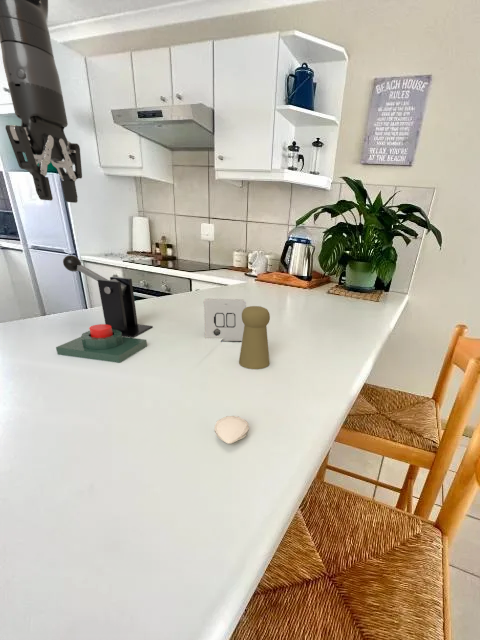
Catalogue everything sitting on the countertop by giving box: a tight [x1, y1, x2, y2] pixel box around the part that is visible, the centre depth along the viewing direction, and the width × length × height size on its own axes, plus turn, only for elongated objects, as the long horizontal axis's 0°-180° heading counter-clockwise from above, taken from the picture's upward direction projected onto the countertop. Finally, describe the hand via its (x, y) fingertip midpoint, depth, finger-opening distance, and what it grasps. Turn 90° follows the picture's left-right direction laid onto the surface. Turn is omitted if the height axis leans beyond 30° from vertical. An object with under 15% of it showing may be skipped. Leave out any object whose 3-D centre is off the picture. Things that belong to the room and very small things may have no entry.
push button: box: [88, 323, 113, 338], centre depth 60 cm, size 4×4×2 cm
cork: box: [238, 305, 271, 370], centre depth 61 cm, size 6×6×11 cm
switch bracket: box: [97, 276, 154, 338], centre depth 70 cm, size 10×8×12 cm
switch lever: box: [62, 254, 127, 296], centre depth 68 cm, size 13×3×3 cm, turn 82°
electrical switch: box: [203, 297, 247, 342], centre depth 73 cm, size 9×5×9 cm, turn 102°
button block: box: [55, 329, 148, 364], centre depth 61 cm, size 12×9×4 cm
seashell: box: [214, 415, 250, 445], centre depth 40 cm, size 4×5×2 cm
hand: (59, 200), depth 62 cm, fingers open, 5 cm apart
